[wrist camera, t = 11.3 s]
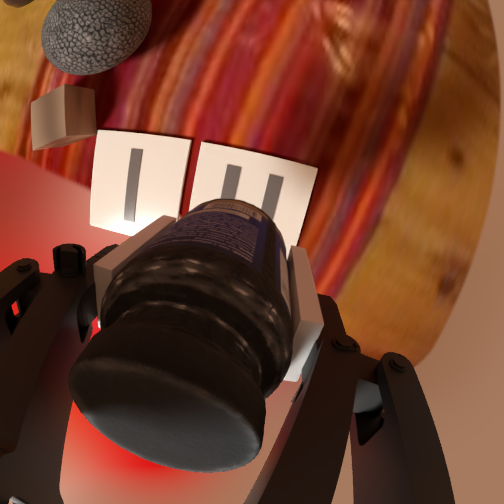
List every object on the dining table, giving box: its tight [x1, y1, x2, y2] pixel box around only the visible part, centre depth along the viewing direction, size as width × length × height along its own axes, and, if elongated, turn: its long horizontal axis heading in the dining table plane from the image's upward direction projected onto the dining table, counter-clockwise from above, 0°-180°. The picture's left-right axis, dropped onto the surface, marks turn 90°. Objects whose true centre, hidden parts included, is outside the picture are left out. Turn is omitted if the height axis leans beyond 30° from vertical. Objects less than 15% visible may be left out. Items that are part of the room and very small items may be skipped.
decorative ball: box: [41, 0, 152, 75], centre depth 14 cm, size 10×10×10 cm
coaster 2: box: [189, 142, 318, 258], centre depth 24 cm, size 10×10×1 cm
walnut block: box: [31, 84, 97, 150], centre depth 19 cm, size 5×5×5 cm
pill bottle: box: [68, 198, 293, 473], centre depth 10 cm, size 6×6×11 cm
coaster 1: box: [90, 130, 192, 236], centre depth 24 cm, size 10×10×1 cm
